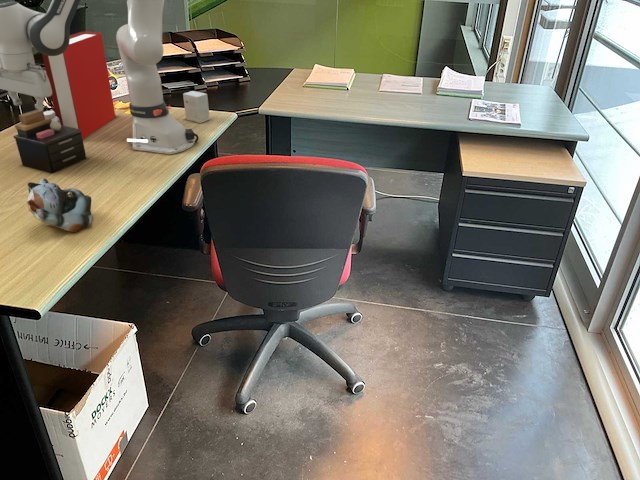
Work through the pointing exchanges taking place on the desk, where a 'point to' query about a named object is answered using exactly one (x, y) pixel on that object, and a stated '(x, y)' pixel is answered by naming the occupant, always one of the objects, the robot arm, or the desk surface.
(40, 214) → the lucky cat figurine
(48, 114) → the pill bottle
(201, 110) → the small box
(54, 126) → the egg
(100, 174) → the desk surface
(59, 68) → the book
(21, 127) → the brush
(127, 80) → the robot arm
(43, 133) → the eraser
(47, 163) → the cabinet
